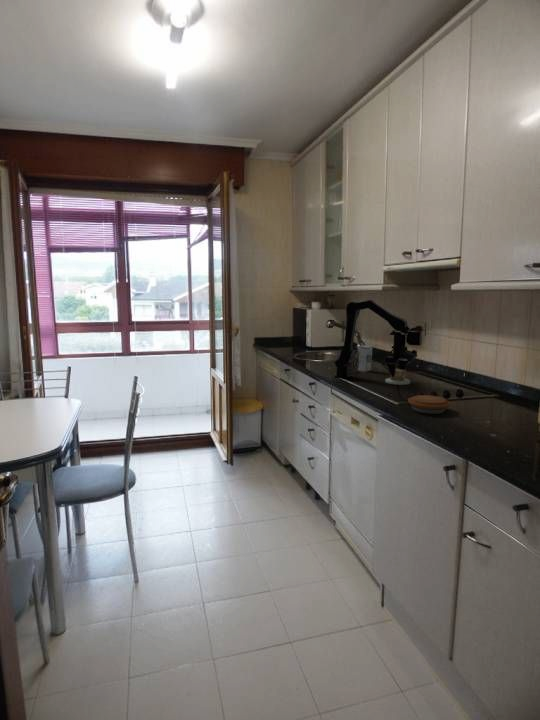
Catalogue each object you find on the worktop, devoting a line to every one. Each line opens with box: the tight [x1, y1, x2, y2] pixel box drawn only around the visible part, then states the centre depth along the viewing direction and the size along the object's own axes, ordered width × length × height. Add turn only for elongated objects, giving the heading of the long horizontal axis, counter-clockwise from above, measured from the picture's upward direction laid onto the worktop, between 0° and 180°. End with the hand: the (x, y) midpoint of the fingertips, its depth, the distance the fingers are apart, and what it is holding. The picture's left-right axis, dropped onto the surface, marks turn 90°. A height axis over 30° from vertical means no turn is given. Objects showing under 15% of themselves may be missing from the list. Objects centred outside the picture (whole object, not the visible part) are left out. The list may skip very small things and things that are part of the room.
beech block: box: [390, 368, 406, 381], centre depth 224 cm, size 5×5×5 cm
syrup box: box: [357, 344, 373, 373], centre depth 255 cm, size 6×6×14 cm
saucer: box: [384, 377, 411, 386], centre depth 224 cm, size 12×12×1 cm
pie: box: [407, 394, 451, 415], centre depth 172 cm, size 15×16×5 cm
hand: (397, 375), depth 224 cm, fingers open, 9 cm apart
